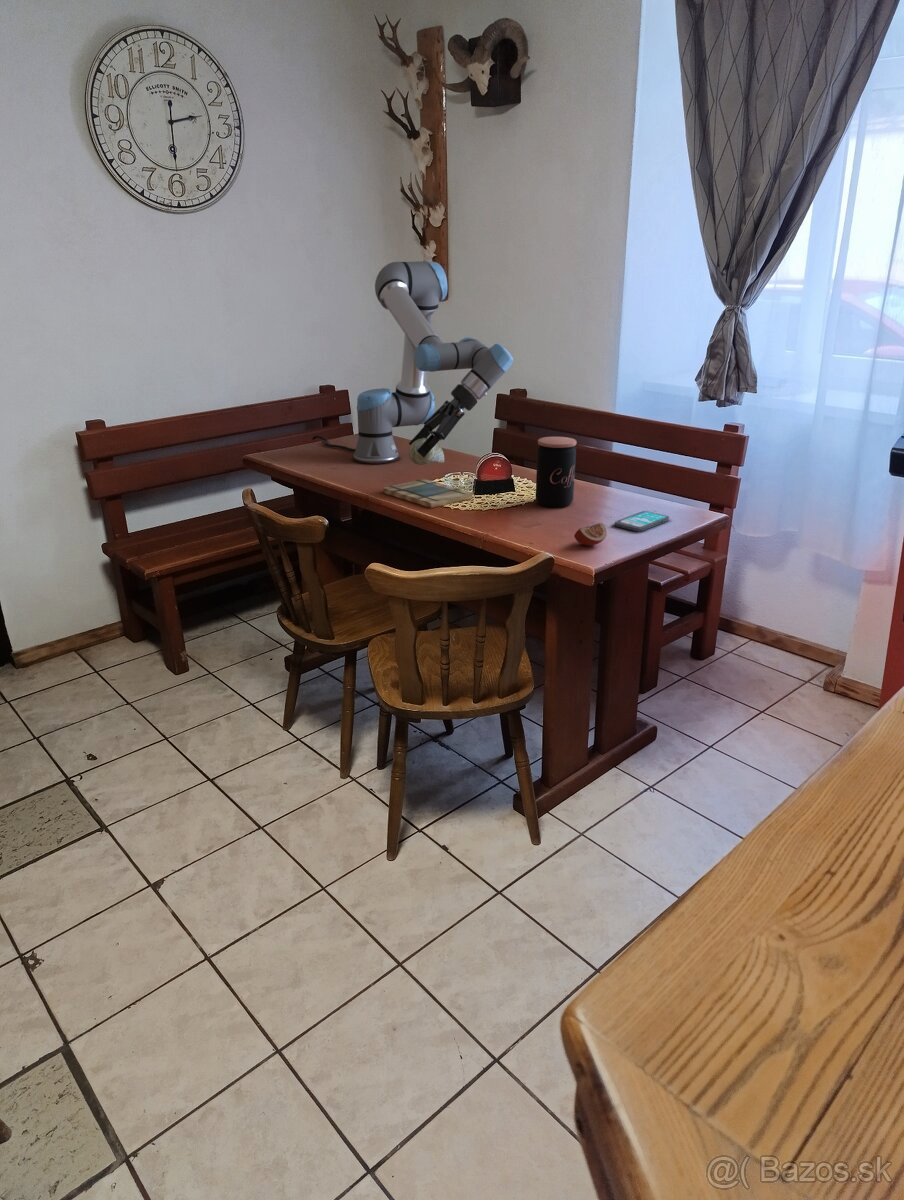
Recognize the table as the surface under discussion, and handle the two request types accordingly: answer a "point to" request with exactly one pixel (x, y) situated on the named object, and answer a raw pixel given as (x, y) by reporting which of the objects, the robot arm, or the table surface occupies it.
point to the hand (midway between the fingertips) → (416, 450)
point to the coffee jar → (555, 471)
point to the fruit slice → (591, 534)
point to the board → (427, 493)
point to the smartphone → (641, 521)
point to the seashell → (432, 456)
